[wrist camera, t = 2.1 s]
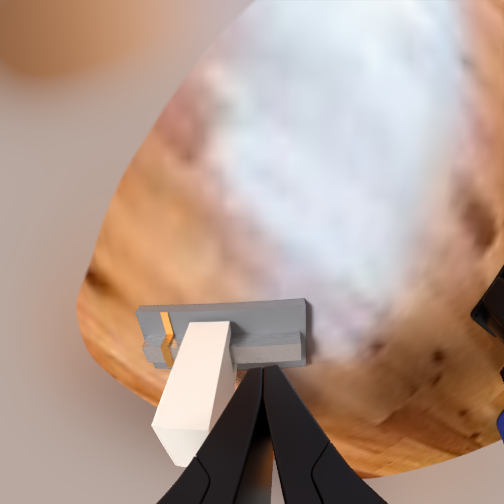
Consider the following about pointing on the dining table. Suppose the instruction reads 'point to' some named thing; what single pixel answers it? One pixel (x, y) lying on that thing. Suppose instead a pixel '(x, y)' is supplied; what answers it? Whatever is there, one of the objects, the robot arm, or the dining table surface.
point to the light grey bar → (232, 347)
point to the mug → (501, 425)
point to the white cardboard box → (196, 390)
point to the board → (241, 321)
